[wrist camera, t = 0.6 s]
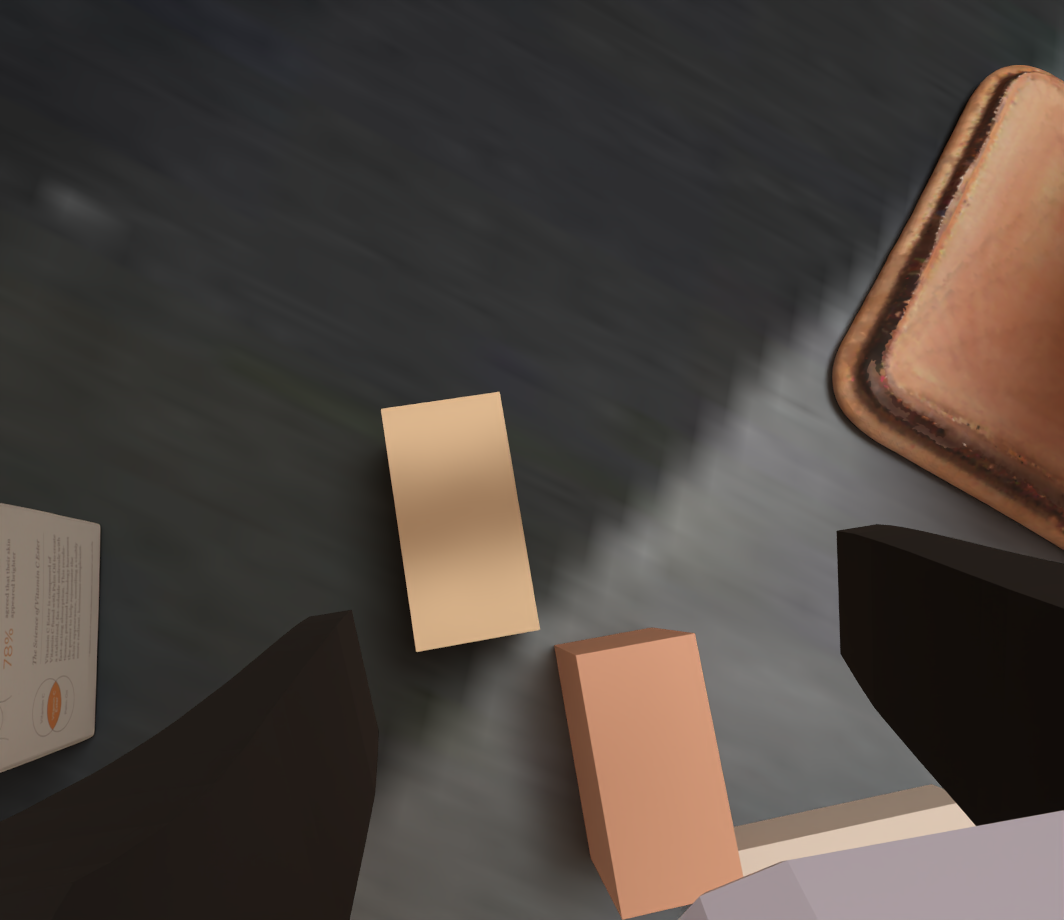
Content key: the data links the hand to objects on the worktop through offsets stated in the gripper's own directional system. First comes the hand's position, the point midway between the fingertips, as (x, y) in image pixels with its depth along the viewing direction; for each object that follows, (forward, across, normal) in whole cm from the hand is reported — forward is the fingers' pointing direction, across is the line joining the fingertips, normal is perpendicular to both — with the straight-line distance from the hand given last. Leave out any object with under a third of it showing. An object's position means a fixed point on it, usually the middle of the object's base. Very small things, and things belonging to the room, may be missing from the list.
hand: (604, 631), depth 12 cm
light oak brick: (+20, +3, +6) cm, 21 cm away
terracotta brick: (+16, -2, +14) cm, 21 cm away
